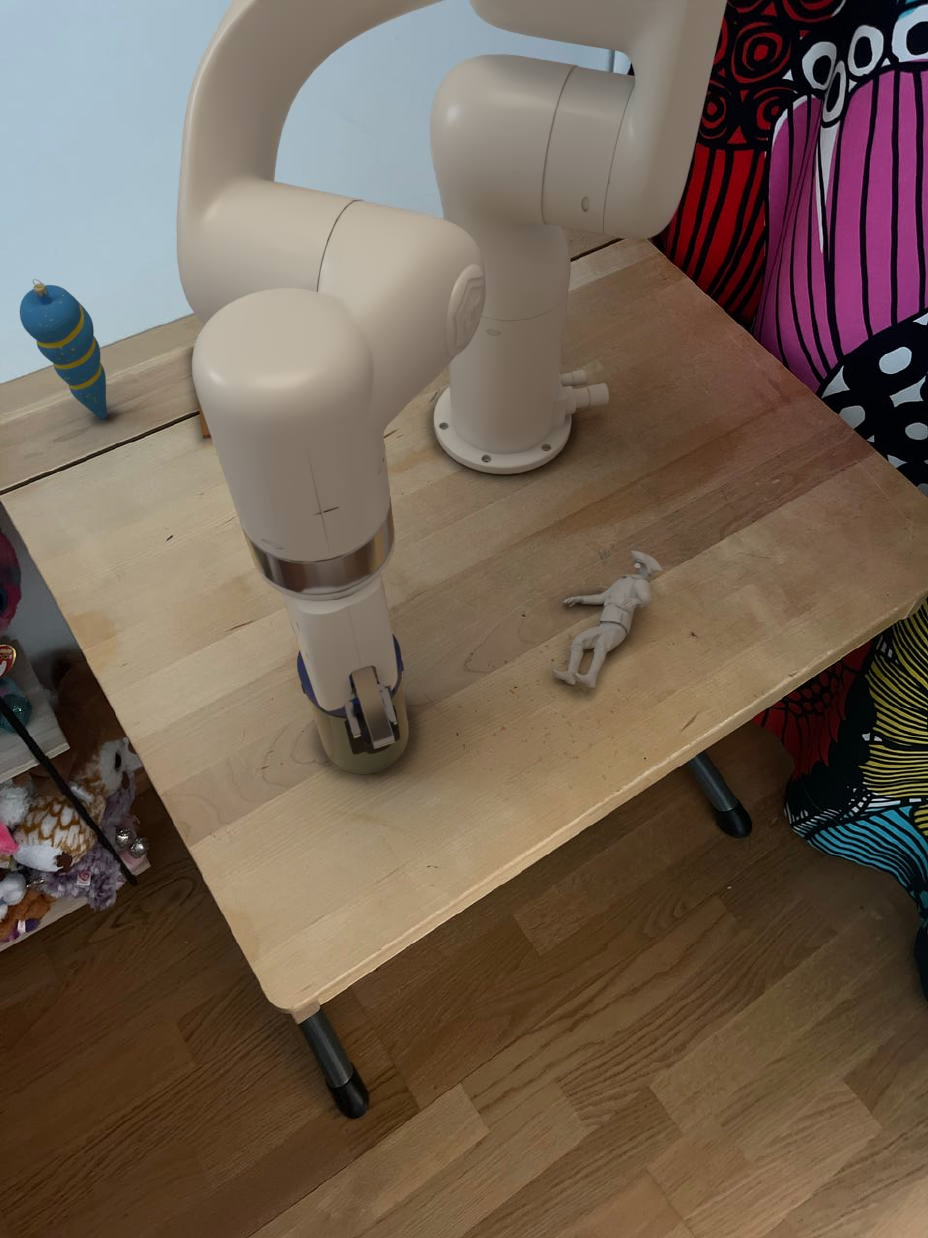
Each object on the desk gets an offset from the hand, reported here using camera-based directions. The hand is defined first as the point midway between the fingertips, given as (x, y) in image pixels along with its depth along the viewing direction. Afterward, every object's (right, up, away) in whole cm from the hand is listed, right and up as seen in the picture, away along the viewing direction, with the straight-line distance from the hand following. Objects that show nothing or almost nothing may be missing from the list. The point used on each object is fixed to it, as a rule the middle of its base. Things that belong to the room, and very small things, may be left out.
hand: (355, 685), depth 61 cm
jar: (0, -4, +6) cm, 7 cm away
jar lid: (0, +2, -3) cm, 3 cm away
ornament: (-27, +23, +24) cm, 43 cm away
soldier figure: (+18, +3, +11) cm, 22 cm away
